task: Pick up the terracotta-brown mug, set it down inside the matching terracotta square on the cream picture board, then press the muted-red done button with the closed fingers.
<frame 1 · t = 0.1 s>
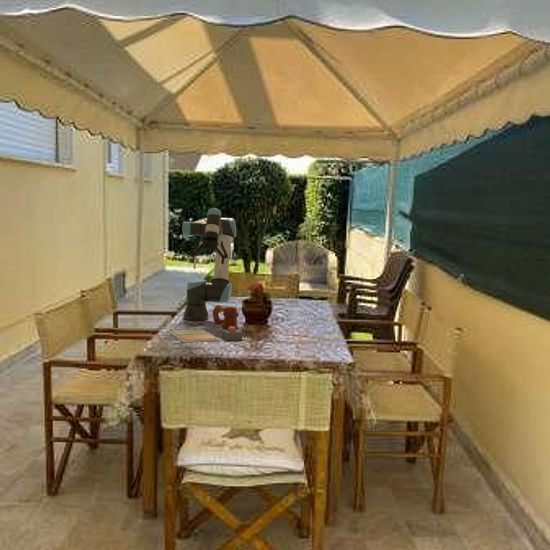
hand: (207, 268, 332), 36 cm above the table, tool tilted 35°, fingers open, 13 cm apart
picture board: (193, 336, 333), on the table
mug: (225, 333, 345), on the table
done button: (231, 330, 331), point 4 cm above the table, slide at 0.0 cm
done button base: (231, 338, 332), on the table
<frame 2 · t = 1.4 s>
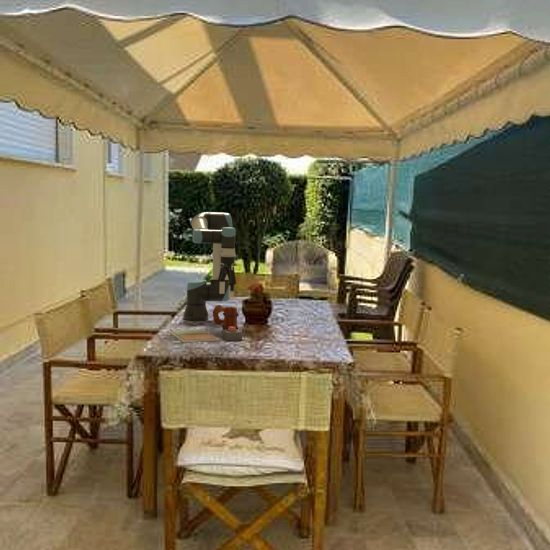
hand: (226, 295, 343), 21 cm above the table, tool pointing down, fingers open, 13 cm apart
nothing on the table moved.
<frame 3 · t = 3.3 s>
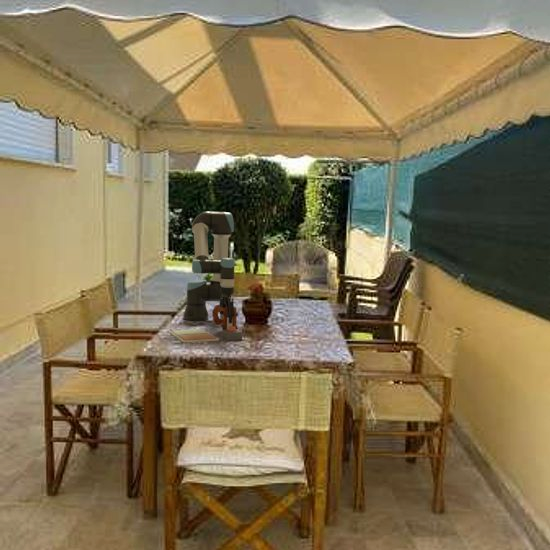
hand: (225, 327, 344), 3 cm above the table, tool pointing down, fingers closed on mug, 10 cm apart
mug: (224, 333, 346), on the table, touching gripper
everything else where it was.
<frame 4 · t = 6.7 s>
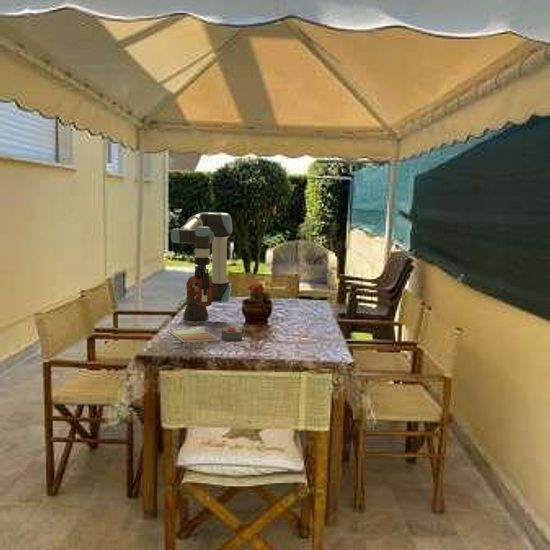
hand: (200, 300, 326), 20 cm above the table, tool pointing down, fingers closed on mug, 10 cm apart
mug: (199, 305, 328), point 17 cm above the table, touching gripper
everything else where it was.
when the fingers open (4 cm above the table, at t = 9.9 s): mug stays where it is, resting on picture board.
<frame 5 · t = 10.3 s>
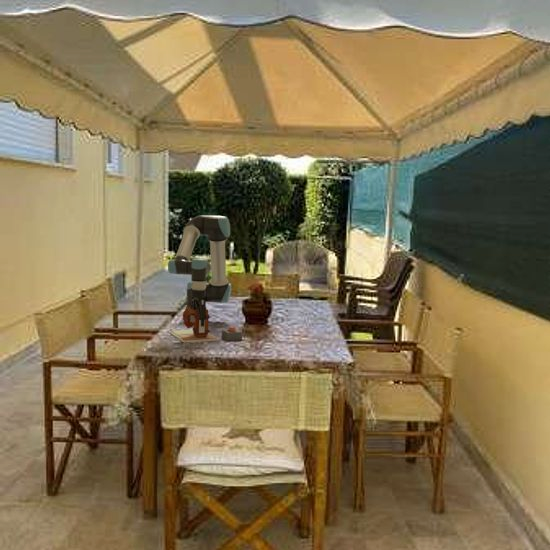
hand: (197, 330, 327), 5 cm above the table, tool pointing down, fingers open, 13 cm apart
mug: (196, 336, 328), point 1 cm above the table, touching picture board
everything else where it was.
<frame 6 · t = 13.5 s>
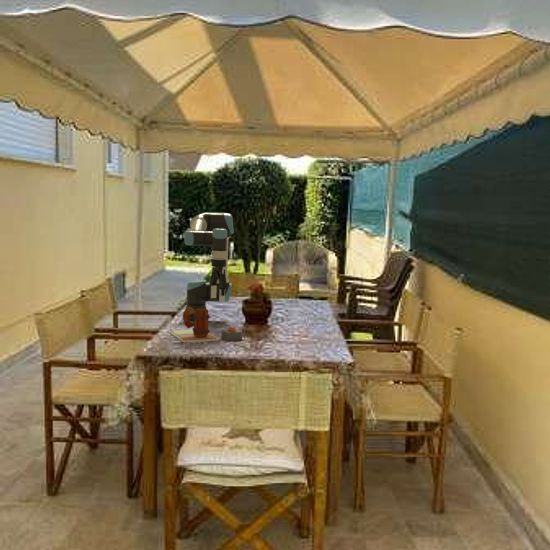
hand: (217, 300, 327), 20 cm above the table, tool pointing down, fingers open, 13 cm apart
nothing on the table moved.
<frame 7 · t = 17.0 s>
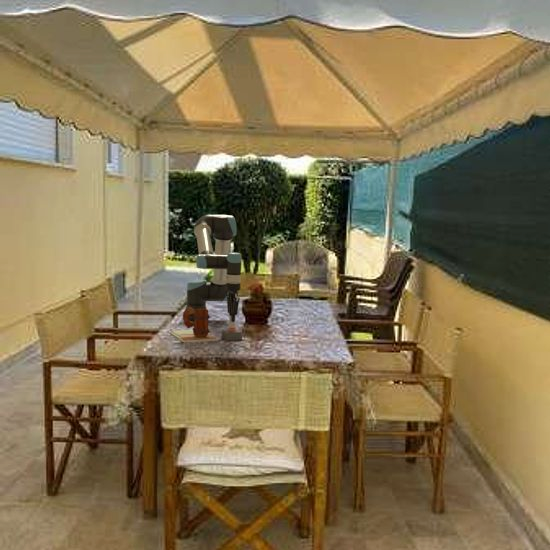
hand: (231, 327, 331), 6 cm above the table, tool pointing down, fingers closed
done button: (231, 331, 332), point 4 cm above the table, slide at 0.4 cm, touching gripper
everything else where it was.
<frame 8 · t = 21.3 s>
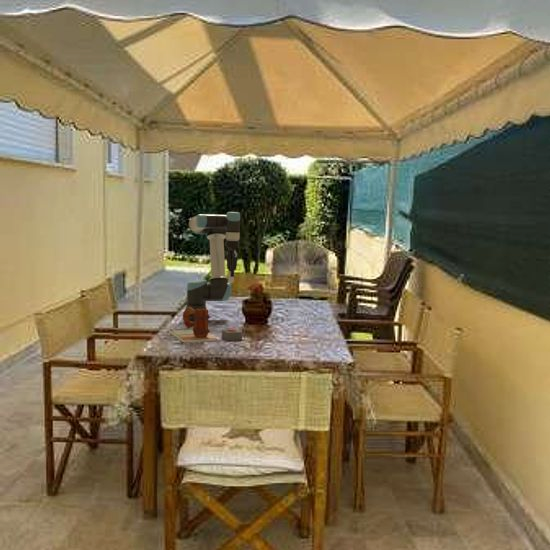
hand: (231, 282, 353), 26 cm above the table, tool pointing down, fingers closed
done button: (231, 332, 332), point 3 cm above the table, slide at 1.2 cm
everything else where it was.
at the end: mug inside the target area (1.4 cm from its centre), point 1.0 cm above the table; the gripper is holding nothing; done button slide at 1.2 cm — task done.
